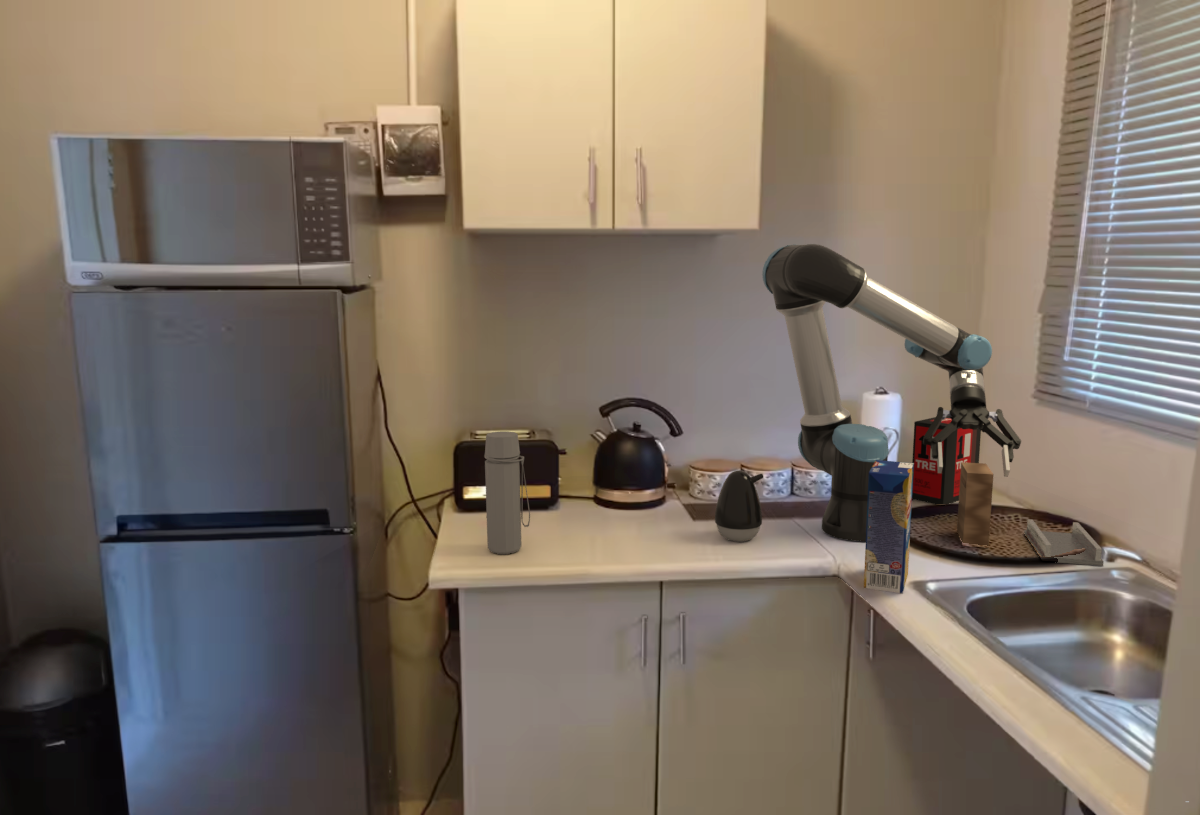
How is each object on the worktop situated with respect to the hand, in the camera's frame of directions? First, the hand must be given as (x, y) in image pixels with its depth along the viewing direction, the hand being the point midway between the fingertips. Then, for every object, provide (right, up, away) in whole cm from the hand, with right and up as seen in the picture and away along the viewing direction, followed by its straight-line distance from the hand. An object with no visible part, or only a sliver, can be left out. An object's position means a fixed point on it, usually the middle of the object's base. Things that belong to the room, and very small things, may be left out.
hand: (973, 471), depth 188 cm
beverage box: (-28, -19, -26) cm, 43 cm away
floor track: (+14, -16, -9) cm, 23 cm away
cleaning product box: (+6, -9, +32) cm, 34 cm away
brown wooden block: (-2, -15, -3) cm, 15 cm away
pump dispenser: (-52, -15, 0) cm, 54 cm away
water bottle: (-101, -16, -7) cm, 103 cm away
